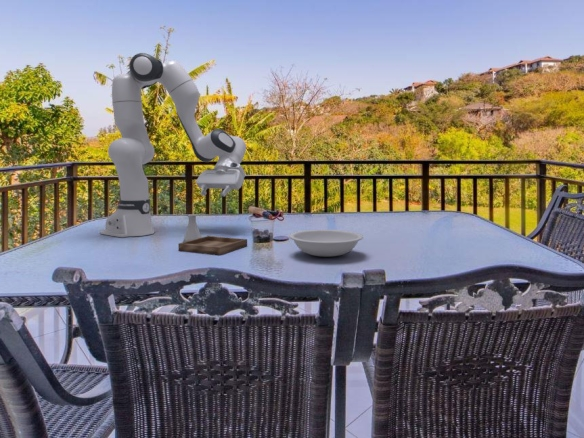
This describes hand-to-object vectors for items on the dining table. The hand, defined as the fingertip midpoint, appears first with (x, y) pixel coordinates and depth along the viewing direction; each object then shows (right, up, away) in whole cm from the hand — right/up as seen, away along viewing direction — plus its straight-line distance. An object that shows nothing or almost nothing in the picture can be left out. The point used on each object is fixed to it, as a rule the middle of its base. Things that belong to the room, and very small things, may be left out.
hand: (212, 195), depth 193 cm
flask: (-6, -18, -10) cm, 21 cm away
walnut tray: (+4, -20, -24) cm, 31 cm away
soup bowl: (+43, -22, -35) cm, 59 cm away
